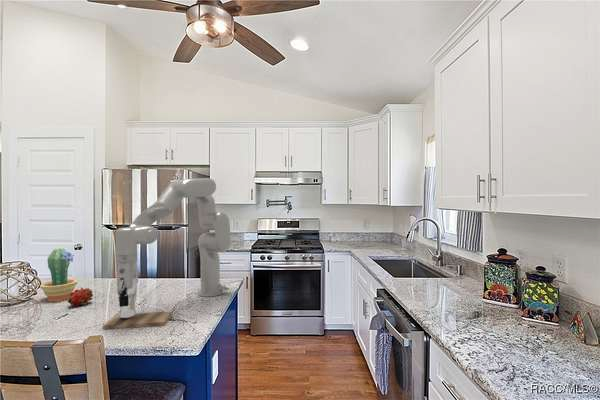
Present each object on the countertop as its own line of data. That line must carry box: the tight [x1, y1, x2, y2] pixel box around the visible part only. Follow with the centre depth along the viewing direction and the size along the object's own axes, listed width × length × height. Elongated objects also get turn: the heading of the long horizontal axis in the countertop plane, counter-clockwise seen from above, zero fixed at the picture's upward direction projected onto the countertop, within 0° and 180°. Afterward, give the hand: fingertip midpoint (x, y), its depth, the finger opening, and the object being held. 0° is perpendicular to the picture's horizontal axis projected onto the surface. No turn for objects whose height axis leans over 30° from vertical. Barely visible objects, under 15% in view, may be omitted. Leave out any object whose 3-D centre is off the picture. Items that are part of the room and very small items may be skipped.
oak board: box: [102, 310, 173, 331], centre depth 130 cm, size 22×12×2 cm, turn 98°
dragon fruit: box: [67, 287, 94, 308], centre depth 153 cm, size 8×8×12 cm
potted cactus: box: [39, 247, 78, 303], centre depth 163 cm, size 15×15×25 cm
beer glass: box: [116, 277, 138, 318], centre depth 131 cm, size 7×7×15 cm
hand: (127, 302), depth 131 cm, fingers closed on beer glass, 6 cm apart
